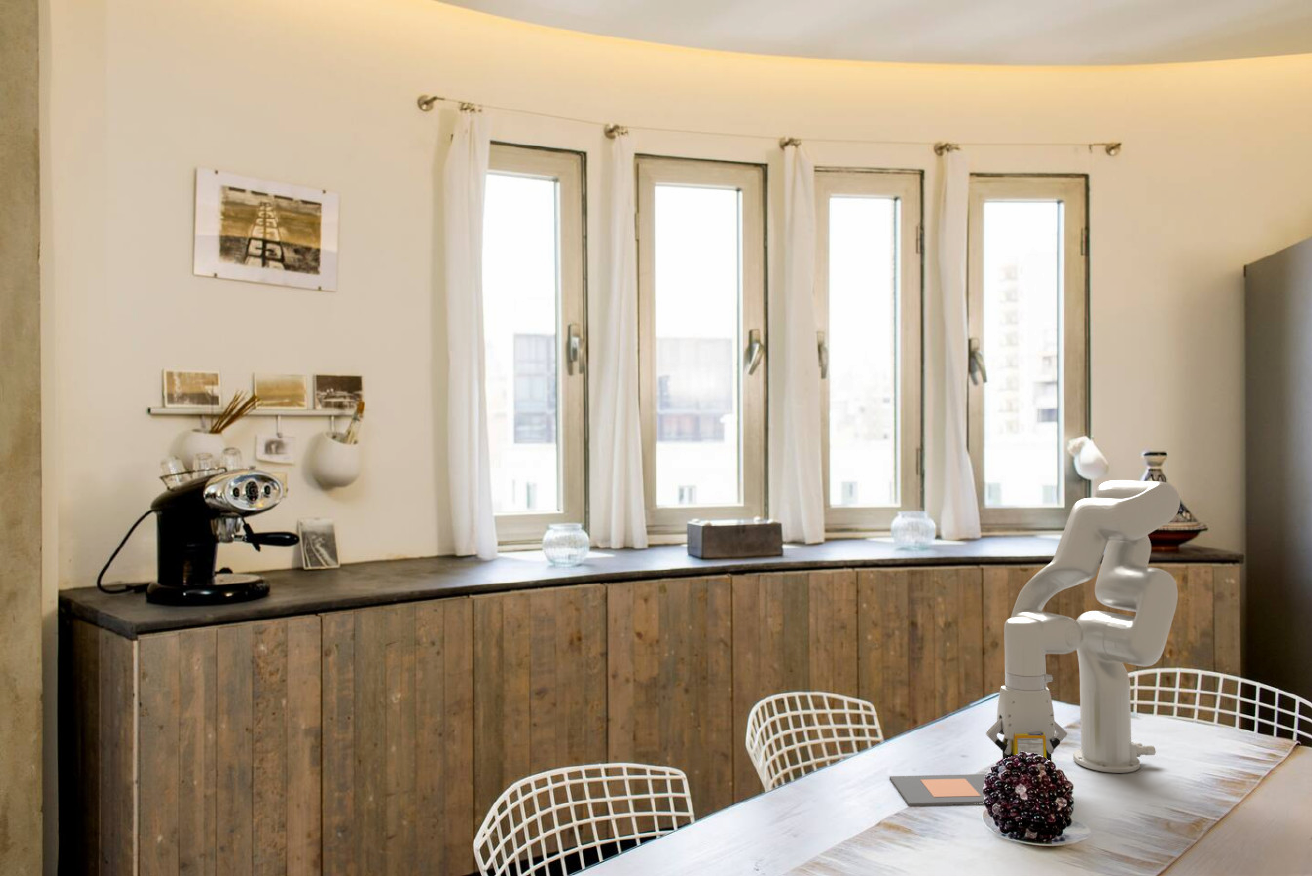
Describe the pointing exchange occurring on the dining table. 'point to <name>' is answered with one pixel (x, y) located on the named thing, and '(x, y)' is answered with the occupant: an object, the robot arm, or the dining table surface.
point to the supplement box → (1030, 743)
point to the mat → (940, 789)
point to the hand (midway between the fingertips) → (1027, 771)
